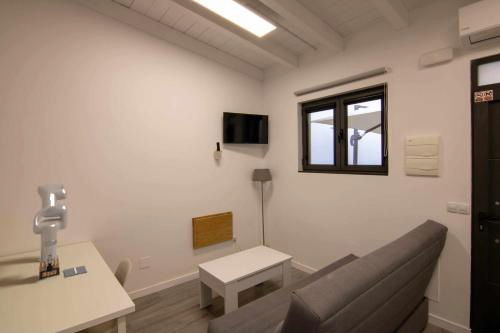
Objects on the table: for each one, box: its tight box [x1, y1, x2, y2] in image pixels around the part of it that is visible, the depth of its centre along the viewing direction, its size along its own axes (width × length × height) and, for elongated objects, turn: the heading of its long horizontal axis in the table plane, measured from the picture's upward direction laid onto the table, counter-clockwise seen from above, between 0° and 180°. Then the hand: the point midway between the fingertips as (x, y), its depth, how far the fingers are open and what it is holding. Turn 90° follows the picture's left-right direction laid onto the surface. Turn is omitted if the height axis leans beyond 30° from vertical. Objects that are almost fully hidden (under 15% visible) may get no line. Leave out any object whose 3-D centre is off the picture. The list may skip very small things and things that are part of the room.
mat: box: [63, 265, 88, 278], centre depth 174 cm, size 14×12×1 cm
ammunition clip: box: [38, 257, 61, 281], centre depth 166 cm, size 11×2×12 cm, turn 137°
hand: (49, 270), depth 166 cm, fingers open, 4 cm apart
